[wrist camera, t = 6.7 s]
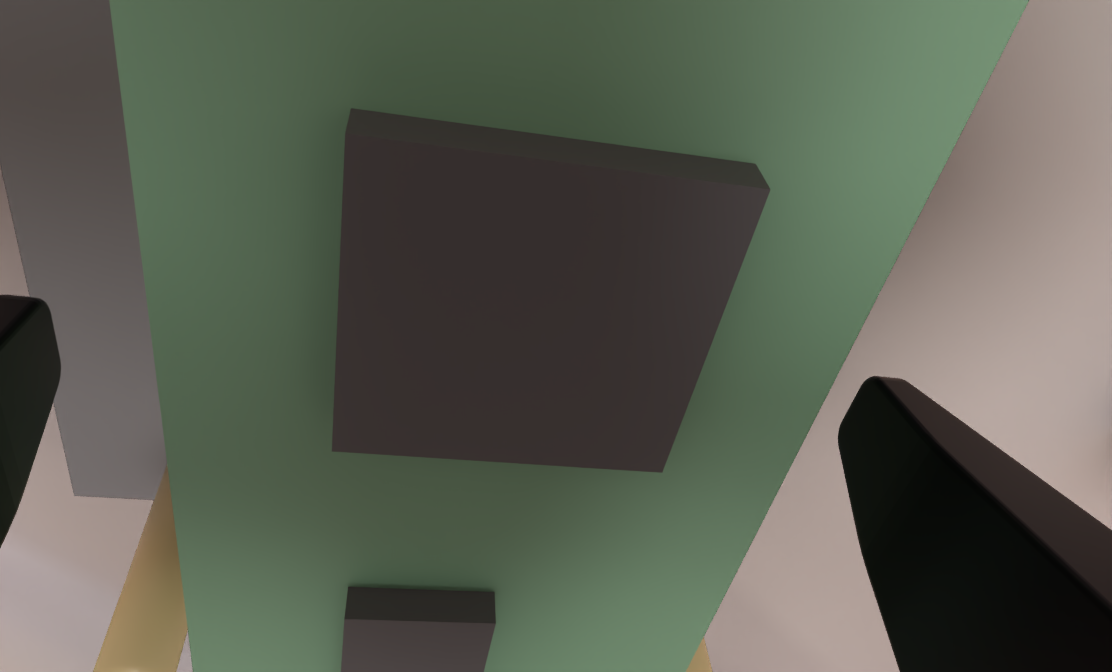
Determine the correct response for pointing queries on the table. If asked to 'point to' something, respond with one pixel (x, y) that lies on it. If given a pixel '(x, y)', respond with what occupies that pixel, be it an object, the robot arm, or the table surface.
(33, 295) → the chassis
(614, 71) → the board
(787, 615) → the table surface
